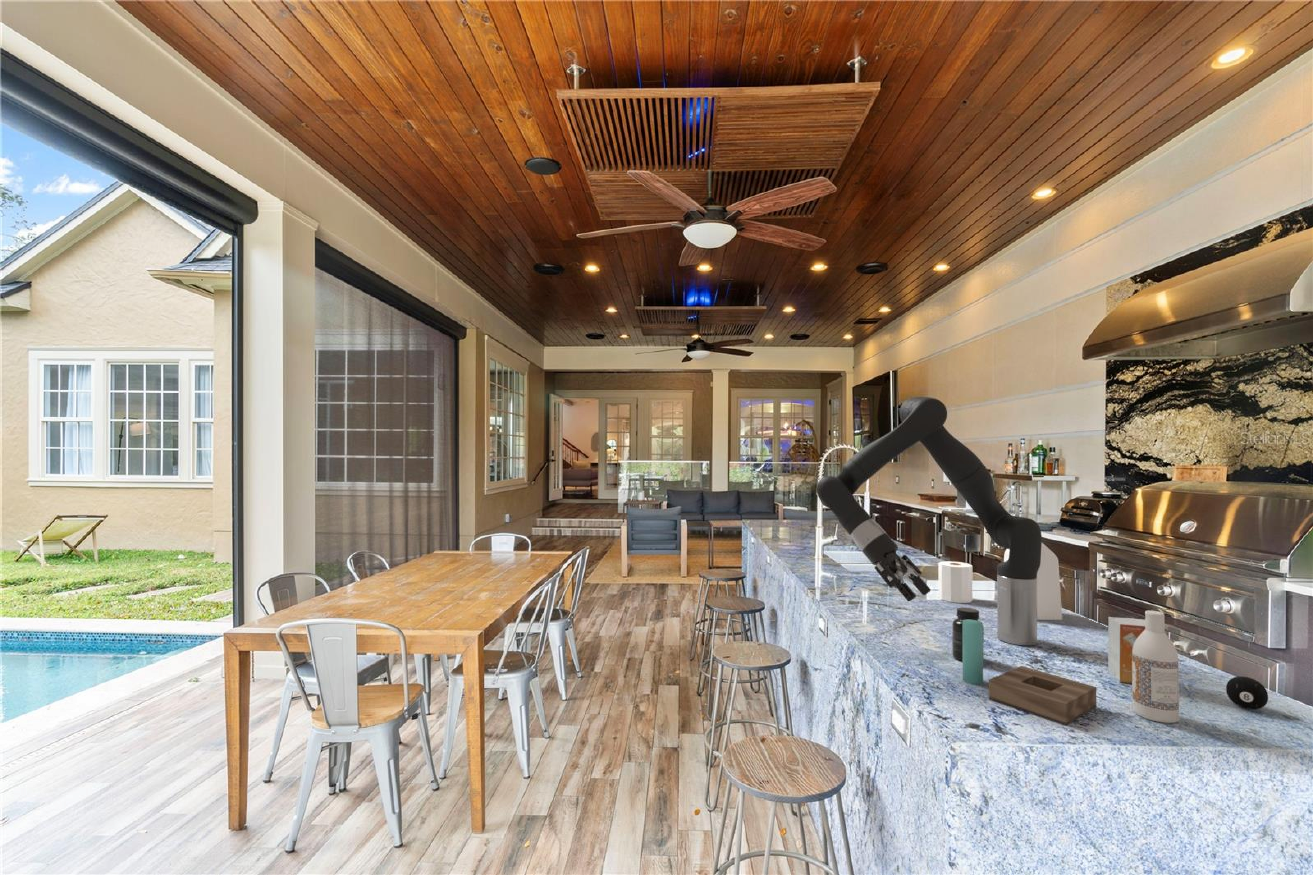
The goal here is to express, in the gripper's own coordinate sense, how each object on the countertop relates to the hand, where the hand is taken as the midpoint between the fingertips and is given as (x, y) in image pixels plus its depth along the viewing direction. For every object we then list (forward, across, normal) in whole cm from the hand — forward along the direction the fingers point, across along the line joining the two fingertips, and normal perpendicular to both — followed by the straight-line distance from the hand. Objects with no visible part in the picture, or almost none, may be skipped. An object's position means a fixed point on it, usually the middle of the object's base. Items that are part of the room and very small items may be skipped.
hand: (920, 596), depth 141 cm
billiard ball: (+50, +25, -26) cm, 62 cm away
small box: (+38, +27, -14) cm, 49 cm away
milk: (+16, +71, +8) cm, 73 cm away
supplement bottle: (+16, +14, +8) cm, 23 cm away
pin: (+20, 0, +4) cm, 20 cm away
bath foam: (+42, +7, -18) cm, 46 cm away
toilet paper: (0, +73, +24) cm, 77 cm away
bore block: (+30, -2, -6) cm, 30 cm away
